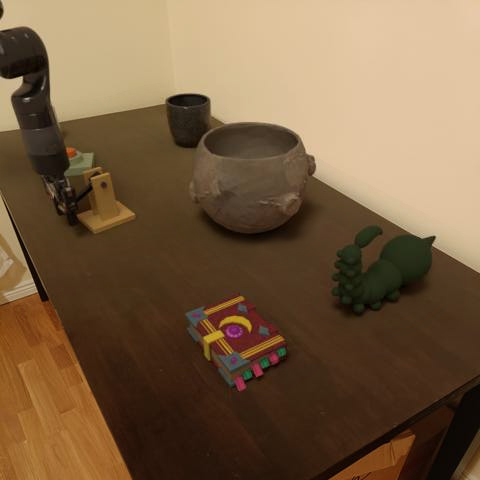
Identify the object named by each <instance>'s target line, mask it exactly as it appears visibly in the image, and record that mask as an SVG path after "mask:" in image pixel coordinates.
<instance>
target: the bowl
mask: <svg viewBox="0 0 480 480" xmlns="http://www.w3.org/2000/svg"><path fill="white" fill-rule="evenodd" d="M316 170H317V164H316V158H315V156H314V155H311V154H308V153H307V151H306V147H305V144H304V143H303V140H302V138H301V137H300V135H299V134H298V133H297V132H295V131H294V130H292V129H290V128H287V127H286V126H282V125H279V124H275V123H269V122H260V121H259V122H258V121H238V122H231V123H230V122H229V123H226V124H221V125H219V126H216V127H214V128H212V129H211V128H210V130H209V131H208V132H207V133H206V134H204V135H203V137H202V139H201V140H200V142H199V144H198V146H196V149H195V153H194V157H193V162H192V172H191V173H192V175H191V176H192V180H191V181H190V182H189V188H188V189H189V190H188V191H189V195H190V197H191V200H192V203H193V204H194V205H197V204H199V206H200V207H201V208H202V209H203V211H204V212H205V213H206V214H207V215H208V216H209V217H210V218H211V220H213V221H214V222H215V223H216V224H218V225H220V226H222V227H224V228H226V229H227V230H230V231H232V232H235V233H240V234H247V235H250V234H258V233H260V234H261V233H265V232H269V231H272V230H275V229H277V228H278V227H281V226H282V225H284V224H285V223H286V222H287V221H289V220H290V219H291V218H292V216H294V215H295V214H297V213H298V211H299V209H300V207H301V205H302V203H303V200H304V197H305V193H306V189H307V184H308V180H309V177H312V176H314V174H315V173H316Z"/></svg>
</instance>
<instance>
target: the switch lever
mask: <svg viewBox="0 0 480 480" xmlns="http://www.w3.org/2000/svg"><path fill="white" fill-rule="evenodd" d="M98 175H101V173H99V172H98V171H96V172H95V173H94V174H93V175H92V176H91V177H90V178H92V177H95V176H98ZM90 178H89V179H88V180H89V181H90V183H89V184H88V185H87V186H86V185H85V187H84V188H82V189H81V191H79V192H78V193H76V197H77V202H78V203H80V202H81V201H82V200H83V199H84V198H85V197H86V196H88V193H89V192H90V191H91V190H93V188H92V184H91V180H90ZM69 205H71V204H69ZM58 208H59V209H60V210H61V211H62V212H64V210H63V207H62V205H61V203H59V204H58ZM64 213H65V212H64Z"/></svg>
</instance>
